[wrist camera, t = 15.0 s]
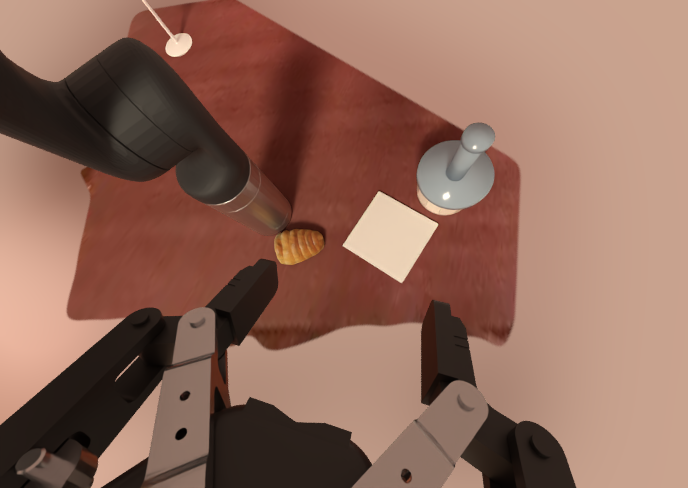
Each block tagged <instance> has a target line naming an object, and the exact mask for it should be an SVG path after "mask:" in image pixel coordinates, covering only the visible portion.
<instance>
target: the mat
mask: <svg viewBox="0 0 688 488" xmlns="http://www.w3.org/2000/svg"><path fill="white" fill-rule="evenodd" d="M437 226H438V224H437V223H436V222H434V221H432V220H430V219H428V218H427V217H425V216H423V215H421V214H419V213H418V212H416V211H414V210H412V209H410V208H409V207H407V206H405V205H403V204H401V203H400V202H398V201H396V200H394V199H392V198H391V197H389V196H387V195H385V194H383V193H382V192H380V191H379V192H378V193H377V195H376V196H375V198H374V199H373V201H372V202H371V204H370V205H369V207H368V208H367V210H366V211H365V213H364V214H363V216H362V217H361V219H360V220H359V222H358V223H357V225H356V226H355V228H354V229H353V231H352V232H351V234H350V235H349V237H348V238H347V240H346V241H345V243H344V244H343V246H344V247H345V248H347V249H349V250H350V251H352V252H353V253H355V254H356V255H358V256H360V257H361V258H363V259H364V260H366V261H367V262H369V263H371V264H372V265H374V266H375V267H377V268H378V269H380V270H382V271H383V272H385V273H386V274H388V275H390V276H391V277H393V278H394V279H396V280H397V281H399V282H401V283H402V282H403V281H404V279H405V277H406V276H407V274H408V273H409V271H410V269H411V268H412V266H413V265H414V263H415V261H416V260H417V258H418V257H419V255H420V253H421V252H422V250H423V249H424V247H425V245H426V244H427V242H428V240H429V239H430V237H431V236H432V234H433V232H434V231H435V229H436V228H437Z"/></svg>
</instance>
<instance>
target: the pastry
mask: <svg viewBox="0 0 688 488" xmlns="http://www.w3.org/2000/svg"><path fill="white" fill-rule="evenodd" d="M274 242H275V243H274V245H275V251H276V255H277V258H278V260H279V261H280V263H281V264H289V265H294V264H296V263H299V262H302V261H305V260H306V259H308V258H310V257H312V256H314V255H316V254H318V253H319V252H320V251H321V250H322V249H323V247H324V245H325V244H324V239H323V236H322V234H320V233H319V232H318V231H312V230H309V229H306V230H305V229H294V230H291V231H288V230H285V231H283V232H282V233H279V234H278V235H277V236H276V238H275V240H274Z"/></svg>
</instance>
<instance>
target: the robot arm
mask: <svg viewBox="0 0 688 488" xmlns="http://www.w3.org/2000/svg"><path fill="white" fill-rule="evenodd" d="M0 133H1V134H4V135H6V136H9V137H11V138H14V139H17V140H19V141H22V142H24V143H27V144H30V145H32V146H35V147H37V148H40V149H43V150H46V151H48V152H51V153H53V154H56V155H59V156H61V157H64V158H66V159H69V160H71V161H74V162H76V163H79V164H82V165H84V166H87V167H89V168H92V169H95V170H98V171H100V172H103V173H106V174H108V175H112V176H115V177H118V178H121V179H125V180H130V181H137V182H144V181H149V180H152V179H155V178H157V177H159V176H161V175H163V174H164V173H166V172H167V171H168V170H170V169H171V168H172V167H174V166H175V165H176V177H177V180H178V183H179V185H180V186H181V188H182V189H183V190H184V191H185V192H186V193H187V194H188V195H190V196H191V197H193V198H195V199H197V200H198V201H200V202H202V203H204V204H206V205H208V206H210V207H212V208H213V209H215V210H217V211H219V212H221V213H223V214H225V215H226V216H228V217H230V218H232V219H234V220H236V221H237V222H239V223H241V224H243V225H245V226H246V227H248V228H250V229H252V230H254V231H255V232H257V233H259V234H262V235H267V236H268V235H274V234H277V233H279V232H281V231H282V230H283V229H285V227H286V226H287V225H288V223H289V222H290V219H291V214H292V210H291V205H290V203H289V201H288V200H287V199H286V198H285V197H284V195H283V194H282V193H281V192H280V191H279V190H278V189H277V188H276V186H275V185H274V184H273V183H272V182H271V181H270V180H269V179H268V178H267V177H266V175H265V174H264V173H263V172H262V171H261V170H260V169H259V168H258V167H257V166H256V164H255V163H254V162H253V161H252V160H251V159H250V158H249V157H248V156H247V155H246V154H245V152H244V151H243V150H242V149H241V148H240V147H239V146H238V145H237V144H236V143H235V142H234V141H233V140H232V139H231V138H230V136H229V135H228V134H227V133H226V132H225V131H224V130H223V129H222V128H221V127H220V125H219V124H218V123H217V122H216V121H215V120H214V118H213V117H212V116H211V115H210V113H209V112H208V111H207V110H206V108H205V107H204V106H203V105H202V103H201V102H200V101H199V100H198V98H197V97H196V96H195V95H194V93H193V92H192V91H191V90H190V88H189V87H188V86H187V85H186V84H185V83H184V81H183V80H182V79H181V78H180V77H179V75H178V74H177V73H176V72H175V71H174V70H173V69H172V68H171V67H170V66H169V65H168V64H167V63H166V62H165V61H164V60H163V59H162V58H161V57H160V56H159V55H158V54H157V53H156V52H155V51H154V50H152V49H151V48H150V47H148V46H147V45H145V44H143V43H142V42H140V41H138V40H136V39H133V38H122V39H120V40H118V41H116V42H115V43H113V44H112V45H111V46H109V47H108V48H106V49H105V50H103V51H102V52H101V53H99V54H98V55H96V56H95V57H93V58H92V59H91V60H89V61H88V62H87V63H85V64H84V65H82V66H81V67H80V68H78V69H77V70H75V71H74V72H73V73H71V74H70V75H69V76H67V77H66V78H64V79H63V80H61V81H59V82H51V81H47V80H43V79H40V78H38V77H36V76H34V75H33V74H31V73H29V72H27V71H26V70H24V69H23V68H21V67H19V66H18V65H16V64H15V63H14V62H12V61H11V60H10V59H8V58H7V57H6V56H5V55H4V54H3V53H2V52H1V50H0ZM277 288H278V276H277V265H276V262H274V261H270V260H266V259H260V260H258V262H257V263H256V264H255V265H254V266H248V267H246V268H244V269H243V270H241V271H239V272H238V273H237V275H236V276H235V277H234V278H233V279H232V280H231V281H230V282H229V283H228V285H226V286H225V287H224V288H223V289H222V290H221V291H220V292H219V293H218V294H217V295H216V296H215V297H214V298H213V299H212V300H211V301H210V303H209V304H208V305H207V306H206V307H201V308H196V309H193V310H191V311H189V312H187V313H186V314H185V315H184V316H162V314H161V312H160V310H158V309H156V308H144V309H140V310H138V311H135V312H134V313H132V314H130V315H129V316H127V317H126V318H125V319H124V320H123V321H122V322H120V323H119V324H118V325H117V326H116V327H115V328H114V329H112V330H111V331H110V332H109V333H108V334H107V335H105V336H104V337H103V338H102V339H101V340H99V341H98V342H97V343H96V344H95V345H93V346H92V347H91V348H90V349H89V350H88V351H86V352H85V353H84V354H83V355H82V356H81V357H79V358H78V359H77V360H76V361H75V362H74V363H72V364H71V365H70V366H69V367H68V368H67V369H66V370H64V371H63V372H62V373H61V374H60V375H59V376H57V377H56V378H55V379H54V380H53V381H51V382H50V383H49V384H48V385H47V386H46V387H45V388H43V389H42V390H41V391H40V392H39V393H37V394H36V395H35V396H34V397H33V398H32V399H30V400H29V401H28V402H27V403H26V404H25V405H24V406H22V407H21V408H20V409H19V410H17V411H16V412H15V413H14V414H13V415H12V416H10V417H9V418H8V419H7V420H6V421H5V422H4V423H2V424H1V425H0V488H91V486H92V484H93V481H94V475H95V473H96V470H97V467H98V458H99V457H100V456H101V455H102V453H103V452H104V451H105V450H106V448H107V447H108V446H109V445H110V443H111V442H112V441H113V440H114V438H115V437H116V436H117V435H118V433H119V432H120V431H121V430H122V428H123V427H124V426H125V425H126V424H127V422H128V421H129V420H130V418H131V417H132V416H133V415H134V414H135V412H136V411H137V410H138V409H139V408H140V406H141V405H142V404H143V402H144V401H145V400H146V399H147V398H148V396H149V395H150V394H151V393H152V391H153V390H154V389H155V387H156V386H157V385H158V384H159V383H160V381H161V380H162V385H161V391H160V396H159V402H158V408H157V414H156V419H155V425H154V430H153V436H152V442H151V447H150V453H149V457H147V458H146V459H145V460H143V461H141V462H140V463H138V464H137V465H135V466H134V467H132V468H131V469H129V470H128V471H126V472H124V473H123V474H121V475H120V476H118V477H117V478H115V479H114V480H112V481H111V482H109V483H107V484H106V485H104V486H103V487H101V488H441V487H442V486H443V484H444V483H445V481H446V480H447V478H448V477H449V476H450V474H451V473H452V471H453V469H454V467H455V464H456V462H457V460H458V459H459V458H460V457H461V458H463V459H464V460H466V461H467V462H468V463H470V464H471V465H472V466H474V467H475V468H477V469H478V470H479V471H481V472H482V476H483V484H484V488H576V486H575V483H574V480H573V477H572V474H571V471H570V468H569V465H568V462H567V459H566V456H565V454H564V451H563V449H562V447H561V446H560V444H559V443H558V441H557V440H556V439H555V438H554V437H553V436H552V435H551V434H550V433H549V432H548V431H547V430H546V429H545V428H543V427H542V426H540V425H538V424H536V423H534V422H530V421H522V422H520V423H519V424H517V423H515V422H514V421H512V420H510V419H509V418H507V417H506V416H504V415H502V414H501V413H499V412H497V411H496V410H494V409H493V408H492V407H491V406H490V405H489V404H488V403H487V402H486V400H485V398H484V397H483V395H482V394H481V393H480V391H479V390H478V389H477V386H476V383H475V376H474V371H473V365H472V360H471V355H470V350H469V343H468V341H467V340H468V338H467V332H466V328H465V326H464V325H463V323H462V321H461V320H460V318H458V317H454V316H451V310H450V305H449V304H448V303H444V302H440V301H435V300H432V301H431V303H430V306H429V308H428V311H427V313H426V316H425V318H424V321H423V324H422V331H421V403H423V404H426V405H429V407H428V408H427V409H426V410H425V411H424V412H423V414H422V415H421V416H420V417H419V418H418V419H417V420H414V421H413V422H412V423H411V424H410V425H409V426H408V427H407V428H406V429H405V430H404V431H403V432H402V434H401V435H400V436H399V437H398V438H397V439H396V440H395V441H394V442H393V443H392V444H391V445H390V446H389V448H388V449H387V450H386V451H385V452H384V453H383V454H382V455H381V456H380V457H379V459H378V460H377V461H376V462H375V463H374V464H373V465H372V464H371V462H370V461H369V459H368V457H367V456H366V455H365V453H364V452H363V451H362V450H361V449H360V448H359V447H358V446H357V445H356V444H355V443H353V442H352V441H351V440H350V439H351V433H352V432H349V431H347V430H344V429H341V428H338V427H335V426H332V425H329V424H326V423H301V422H295V421H293V420H292V419H291V418H289V417H288V416H287V415H285V414H284V413H283V412H282V411H280V410H279V409H278V408H276V407H275V406H274V405H271V404H268V403H265V402H262V401H259V400H257V399H254V398H251V397H250V398H249V399H248V401H247V403H246V405H236V406H233V407H231V403H230V396H229V390H228V366H227V365H228V362H227V348H228V347H229V346H230V344H235V345H238V346H239V345H240V344H241V343H242V341H243V340H244V338H245V337H246V335H247V334H248V333H249V331H250V330H251V328H252V327H253V325H254V324H255V322H256V321H257V320H258V318H259V317H260V315H261V314H262V312H263V311H264V309H265V308H266V307H267V305H268V304H269V302H270V301H271V299H272V298H273V296H274V295H275V293H276V291H277ZM137 356H139V357H138V358H137V359H136V361H134V362H133V363H132V365H131V366H130V367H129V368H128V369H127V370H126V371H125V372H124V373H123V374H122V375H121V376H120V377H119V378H118V379H117V380H116V378H117V377H118V376H119V374H120V373H121V372H122V371H123V370H124V369H125V368H126V367H127V366H128V365H129V364H130V363H131V362H132V361H133V360H134V359H135V358H136V357H137ZM115 380H116V381H115Z"/></svg>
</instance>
